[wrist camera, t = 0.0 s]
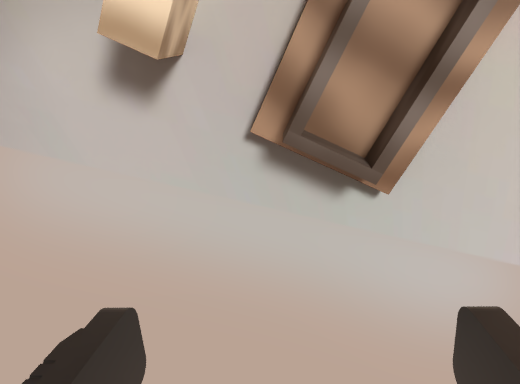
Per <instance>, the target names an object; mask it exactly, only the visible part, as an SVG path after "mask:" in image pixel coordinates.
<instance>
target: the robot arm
mask: <svg viewBox="0 0 520 384" xmlns="http://www.w3.org/2000/svg"><path fill="white" fill-rule="evenodd" d="M145 368H146V355H145V350H144V345H143V340H142V335H141V330H140V325H139V320H138V315H137V313H136V310H135V309H134V308H103V309H101V310H100V311H99V312H98V313H97V314H96V315H95V317H94V318H93V319H92V320H91V321H90V322H89V323H88V325H87V326H86V327H85V328H84V329H83V328H81V329H79V330H78V331H76V332H75V333H73V334H72V335H70V336H69V337H67V338H66V339H65V340H63V341H62V342H60V343H59V344H58V345H57V346H56V347H55V348H54V350H53V351H52V352H51V353H50V354H49V355H48V356H47V357H46V358H45V359H44V362H43V364H40V365H39V366H38V367H37V368H36V369H35V370H34V371H33V372H32V373H31V375H30V378H29V379H26V380H25V381H24V382H23V383H22V384H141V383H142V380H143V377H144V374H145ZM453 369H454V374H455V378H456V381H457V384H520V327H519V325H518V324H516V322H515V321H514V320H513V319H512V318H511V317H510V316H509V315H508V314H507V313H506V312H505V311H504V310H503V309H502V308H500V307H493V306H492V307H461V308H460V310H459V312H458V318H457V327H456V337H455V345H454V354H453Z"/></svg>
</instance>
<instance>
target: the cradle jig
mask: <svg viewBox="0 0 520 384" xmlns="http://www.w3.org/2000/svg"><path fill="white" fill-rule="evenodd" d="M519 4H520V0H308V1H307V3H306V6H305V8H304V10H303V12H302V15H301V17H300V19H299V22H298V24H297V26H296V28H295V31H294V33H293V35H292V37H291V40H290V42H289V44H288V47H287V49H286V51H285V53H284V56H283V58H282V60H281V62H280V65H279V67H278V69H277V72H276V74H275V76H274V78H273V81H272V83H271V85H270V88H269V90H268V92H267V94H266V97H265V99H264V101H263V103H262V106H261V108H260V110H259V113H258V115H257V117H256V119H255V122H254V124H253V126H252V129H251V131H250V132H252V133H254V134H256V135H258V136H261V137H263V138H265V139H267V140H269V141H272V142H274V143H276V144H278V145H280V146H283V147H285V148H287V149H289V150H291V151H293V152H296V153H298V154H300V155H302V156H304V157H307V158H309V159H311V160H313V161H315V162H318V163H320V164H322V165H324V166H326V167H329V168H331V169H333V170H335V171H337V172H340V173H342V174H344V175H346V176H348V177H351V178H353V179H355V180H357V181H359V182H362V183H364V184H366V185H368V186H370V187H373V188H375V189H377V190H379V191H381V192H384V193H386V194H388V195H389V193H390V192H391V190H392V189H393V187H394V186H395V184H396V183H397V181H398V180H399V179H400V177H401V176H402V174H403V173H404V171H405V170H406V168H407V167H408V165H409V164H410V163H411V161H412V160H413V158H414V157H415V155H416V154H417V152H418V151H419V149H420V148H421V147H422V145H423V144H424V142H425V141H426V139H427V138H428V136H429V135H430V133H431V132H432V131H433V129H434V128H435V126H436V125H437V123H438V122H439V120H440V119H441V118H442V116H443V115H444V113H445V112H446V110H447V109H448V107H449V106H450V104H451V103H452V102H453V100H454V99H455V97H456V96H457V94H458V93H459V91H460V90H461V88H462V87H463V86H464V84H465V83H466V81H467V80H468V78H469V77H470V75H471V74H472V72H473V71H474V70H475V68H476V67H477V65H478V64H479V62H480V61H481V59H482V58H483V56H484V55H485V54H486V52H487V51H488V49H489V48H490V46H491V45H492V43H493V42H494V40H495V39H496V38H497V36H498V35H499V33H500V32H501V30H502V29H503V27H504V26H505V24H506V23H507V22H508V20H509V19H510V17H511V16H512V14H513V13H514V11H515V10H516V8H517V7H518V6H519Z"/></svg>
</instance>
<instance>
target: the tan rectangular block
mask: <svg viewBox="0 0 520 384" xmlns="http://www.w3.org/2000/svg"><path fill="white" fill-rule="evenodd" d="M198 1H199V0H103V5H102V10H101V16H100V21H99V26H98V32H97V33H99V34H101V35H103V36H105V37H108V38H110V39H112V40H114V41H117V42H119V43H121V44H123V45H126V46H128V47H130V48H132V49H135V50H137V51H139V52H141V53H143V54H146V55H148V56H150V57H152V58H155V59H157V60H158V59H163V58H168V57H173V56H179V55H183V51H184V48H185V45H186V41H187V38H188V35H189V31H190V28H191V25H192V21H193V18H194V15H195V11H196V8H197V5H198Z"/></svg>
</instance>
